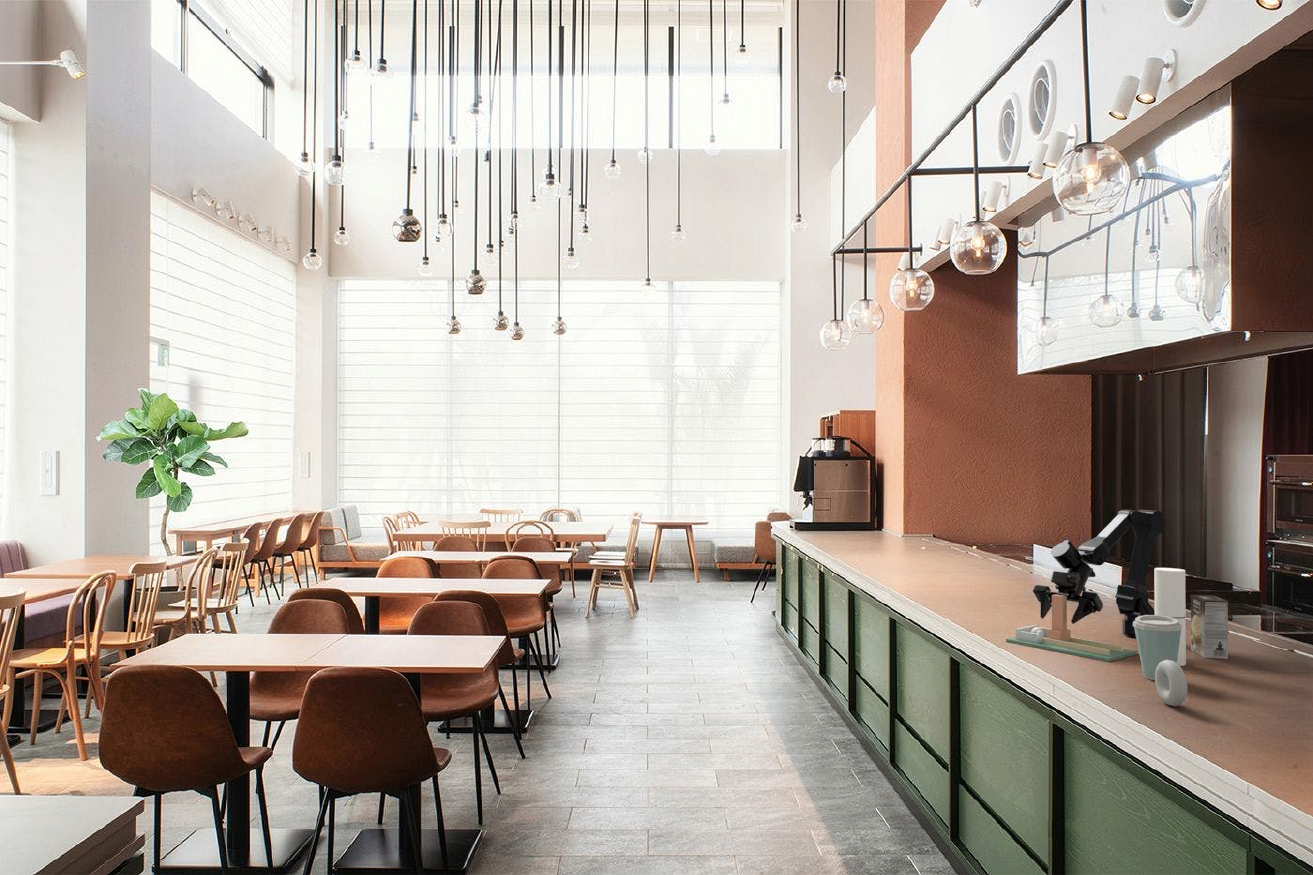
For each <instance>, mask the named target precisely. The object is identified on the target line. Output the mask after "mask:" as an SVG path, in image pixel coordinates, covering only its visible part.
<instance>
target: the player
mask: <svg viewBox="0 0 1313 875" xmlns="http://www.w3.org/2000/svg"><path fill="white" fill-rule="evenodd" d="M1067 602H1068V601H1067V596H1063V595H1052V603H1051V604H1052V607H1051V628H1050V629H1051V630H1048V638H1049V639H1055V640H1060V641H1066V642H1071V637H1072V635H1071V629H1068V618H1067V616H1068V603H1067Z"/></svg>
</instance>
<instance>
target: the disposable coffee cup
mask: <svg viewBox="0 0 1313 875" xmlns="http://www.w3.org/2000/svg"><path fill="white" fill-rule="evenodd" d="M1133 626H1134V629H1135V634H1136V637H1135V638H1136V644H1137V647H1138V648H1137V649H1138V654H1139V658H1140V663H1141V664H1140V665H1141V669H1142V674H1143V675H1144V677H1145V678H1146V679H1147V680H1151V681H1155V672H1156V668H1157V666H1158V664H1159V663H1160V662H1162V661H1164V660H1171V661H1174V662H1176V663H1177V658H1178V650H1179V642H1180V635H1181V629H1182V626H1181V625H1180V624H1179V621H1178V620H1176V619H1175V618H1171V617H1168V616H1159V615H1144V616H1138V617H1137V618H1135V621H1134V622H1133Z"/></svg>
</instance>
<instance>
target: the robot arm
mask: <svg viewBox="0 0 1313 875" xmlns="http://www.w3.org/2000/svg"><path fill="white" fill-rule="evenodd" d="M1165 524H1166V517H1165V516H1164V514H1163V512H1162V511H1160V510H1152V509H1151V510H1149V509H1138V510H1137V511H1136V510H1135V509H1134V510H1133V509H1132V510H1131V509H1120V510H1119V511H1118V512H1117V515H1116V516H1115V517H1114V518H1113V519H1112V520H1111V521H1110V522H1109V523H1108V524H1107V525H1106V526H1105V527H1104V528H1103V530H1102V531H1101V532H1100V533H1098V534H1097V536H1096V537H1094V538H1092V539H1089V540H1086V541H1085V542H1084V543H1082V544H1081V545H1080V546H1078V548H1076V547H1075V546H1074V545H1073V542H1072V541H1071V540H1066V539H1064V540H1063V542H1060V543H1058V544H1056V545H1055V546H1053V547H1052V548H1051V550H1050V555H1051V556H1052V557H1053V558H1054V560H1055V561H1056V562H1057V563H1058V565H1060V567H1061V568H1062V569H1065V570H1066V569H1067V572H1064V571H1057V570H1056V571H1055V570H1054V571H1052V574H1051V579H1050V582H1051V583H1053V584H1055V586H1054V587H1055V589H1056V590H1058V591H1054V590H1051V588H1050V586H1047V585H1041V584H1037V585H1034V587H1033V590H1032V593H1033V595H1034V596H1035V598H1036V599H1037V601H1038V603H1040V618H1041V619H1042V620H1043V619H1044V618H1045V617H1046V616H1047V614H1048V613H1049V612H1050V611H1051V609H1052V595H1063V596H1067V602H1072V603H1078V605H1077V607H1076V609H1075V611H1074V613H1073V615H1072V617H1071V624H1073V625H1075V624H1076V623H1077V622H1079V621H1080V620H1083V619H1084V618H1086V617H1087V616H1089V615H1091V614H1095V613H1096V612H1097V613H1098V612H1102V610H1103V608H1104V607H1103V606H1104V603H1103V601H1102V599H1101V597H1100V596H1099V594H1098V593H1097V592H1093V591H1086V590H1087V588H1086V583H1087V581H1088V580H1089V578H1095V577H1097V576H1096V573H1095V571H1094V568H1093V567H1091V566H1090V565H1092V566H1102V565H1104V564H1105V562H1106V561H1107V560H1108V558H1109V556H1110V555H1111V548H1112V547H1113V546H1114V545H1115V544H1116V542H1118V541H1119V540H1120V539H1121V537H1122V536H1124V534H1125V533H1126V532H1128V531H1129V529H1130V528H1131V527H1132V529H1133V531H1134V533H1135V541H1134V545H1133V551H1132V555H1131V560H1130V565H1129V569H1128V574H1127V578H1126V581H1125V582H1124V583H1123V584H1118V586H1117V588H1116V594H1115V596H1114V598H1115V602H1116V603H1115V604H1116V606H1117V608H1118V612H1119V614H1120V615H1124V618H1123V619H1122V634H1123V635H1125V636H1126V637H1128V638H1136V634H1135V629H1134V626H1133V622H1134V621H1135V618H1137V617H1138V616H1144V615H1155V608H1153V606H1152V605H1151V604H1150V602H1149V597H1150V595H1149V591H1148V589H1147V587H1146V582H1147V578H1148V573H1149V567H1150V563H1151V557H1152V553H1153V547H1154V543H1155V540H1156V539H1157V538H1158V537H1159V536H1160V535H1161V534H1162V532H1163V530H1164V526H1165Z"/></svg>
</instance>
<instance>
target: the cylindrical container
mask: <svg viewBox="0 0 1313 875" xmlns="http://www.w3.org/2000/svg"><path fill="white" fill-rule="evenodd" d="M1153 575H1154V583H1153V584H1154V610H1155V615H1159V616H1168V617H1171V618H1175V619H1176V620H1178V621H1179V624H1180V625H1181V626H1182V629H1181V635H1180V642H1179V650H1178V658H1177V664H1178V665H1179V666H1180V667H1181V666H1182V667H1184V666H1187V648H1186V644H1187V642H1186V641H1187V640H1186V636H1187V632H1186V629H1187V628H1186V627H1187V626H1186V625H1187V624H1186V623H1187V622H1186V621H1187V620H1186V608H1187V607H1186V570H1185V569H1181V568H1175V567H1174V568H1173V567H1155V568H1154V574H1153Z"/></svg>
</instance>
